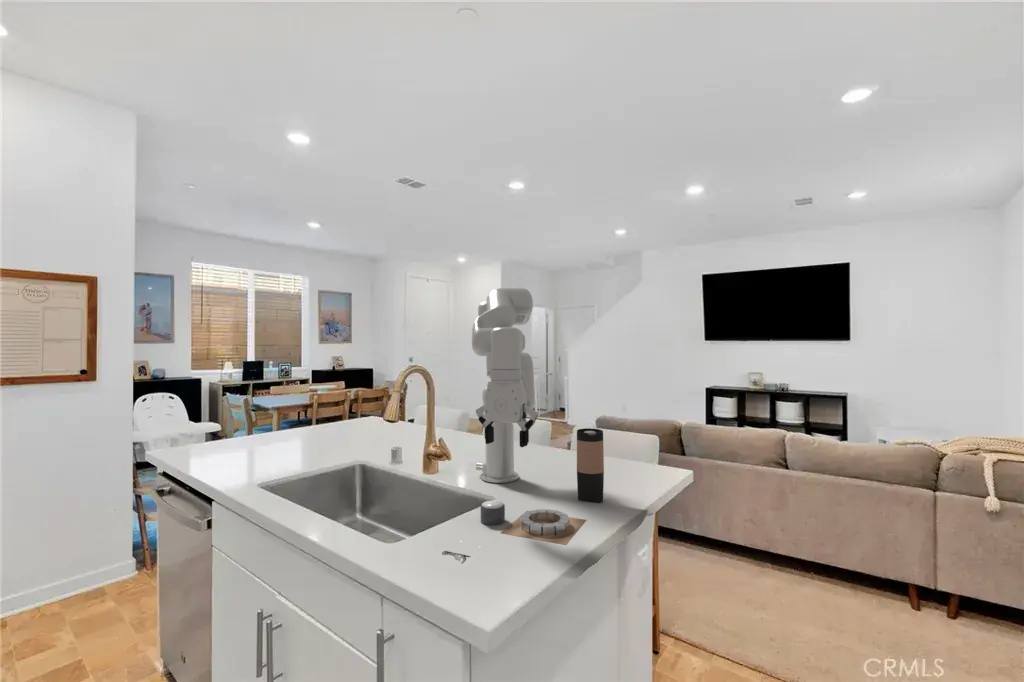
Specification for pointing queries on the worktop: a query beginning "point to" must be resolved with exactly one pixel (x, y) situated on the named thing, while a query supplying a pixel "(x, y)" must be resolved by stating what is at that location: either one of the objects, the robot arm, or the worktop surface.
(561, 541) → the board
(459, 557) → the acanthus leaf ornament
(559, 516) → the grey segmented ring
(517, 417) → the robot arm
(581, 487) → the travel mug
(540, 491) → the worktop surface
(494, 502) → the cap
